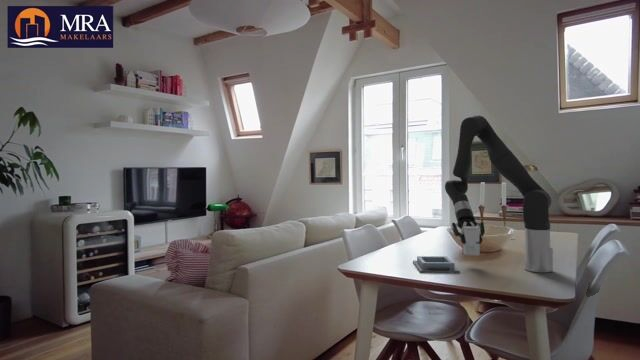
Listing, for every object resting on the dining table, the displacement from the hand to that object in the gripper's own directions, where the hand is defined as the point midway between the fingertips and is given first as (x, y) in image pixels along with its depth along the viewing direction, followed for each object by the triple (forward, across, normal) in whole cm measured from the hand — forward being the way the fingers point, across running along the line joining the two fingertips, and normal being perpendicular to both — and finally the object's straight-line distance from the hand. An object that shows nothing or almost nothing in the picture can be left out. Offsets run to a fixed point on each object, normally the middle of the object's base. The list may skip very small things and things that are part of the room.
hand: (472, 242), depth 162 cm
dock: (+8, -16, +6) cm, 19 cm away
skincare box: (+3, 0, +5) cm, 6 cm away
